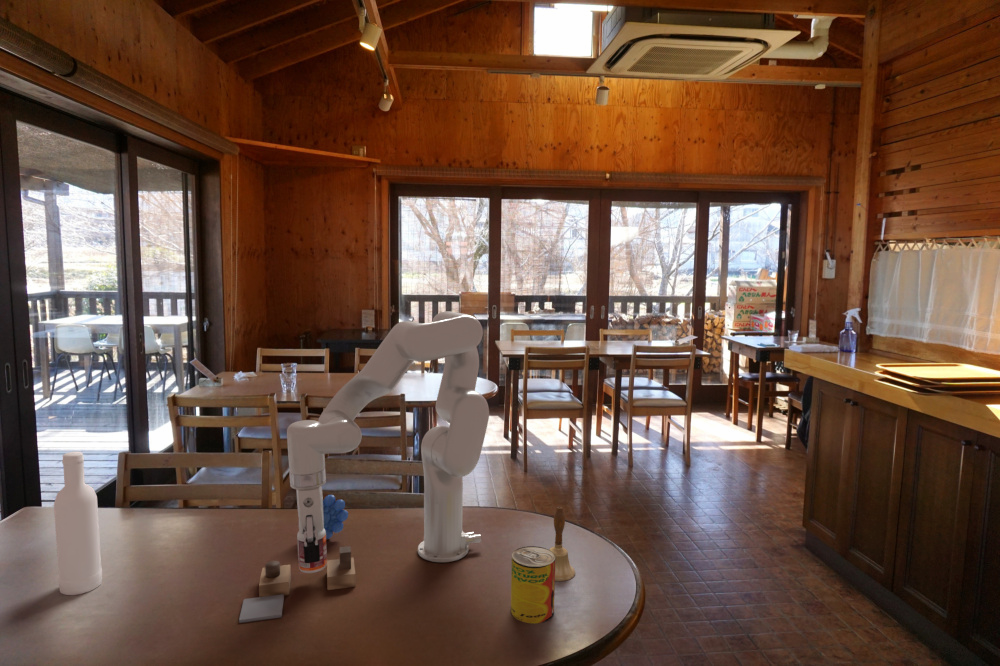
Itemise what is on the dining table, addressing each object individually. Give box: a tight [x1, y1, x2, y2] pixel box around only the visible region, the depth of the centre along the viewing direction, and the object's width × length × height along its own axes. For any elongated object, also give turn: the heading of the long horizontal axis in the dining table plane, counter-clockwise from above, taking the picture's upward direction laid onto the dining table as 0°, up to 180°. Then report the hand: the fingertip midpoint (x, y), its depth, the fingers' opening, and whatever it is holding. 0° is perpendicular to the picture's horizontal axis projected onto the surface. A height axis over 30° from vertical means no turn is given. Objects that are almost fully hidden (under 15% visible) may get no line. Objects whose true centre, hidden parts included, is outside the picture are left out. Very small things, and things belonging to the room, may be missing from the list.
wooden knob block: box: [258, 545, 356, 597], centre depth 138 cm, size 20×8×7 cm, turn 106°
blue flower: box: [323, 494, 349, 541], centre depth 161 cm, size 12×7×12 cm, turn 94°
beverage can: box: [510, 545, 556, 624], centre depth 128 cm, size 9×9×12 cm
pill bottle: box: [296, 515, 328, 574], centre depth 138 cm, size 6×6×11 cm
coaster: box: [238, 594, 285, 624], centre depth 128 cm, size 8×8×1 cm
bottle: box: [53, 451, 103, 596], centre depth 134 cm, size 8×8×30 cm
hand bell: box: [548, 506, 576, 582], centre depth 145 cm, size 8×8×16 cm
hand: (312, 553), depth 138 cm, fingers closed on pill bottle, 6 cm apart
